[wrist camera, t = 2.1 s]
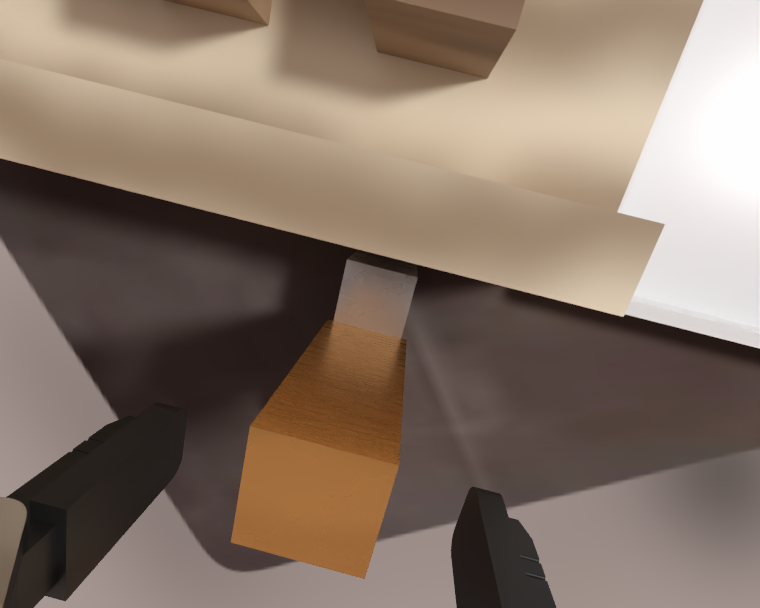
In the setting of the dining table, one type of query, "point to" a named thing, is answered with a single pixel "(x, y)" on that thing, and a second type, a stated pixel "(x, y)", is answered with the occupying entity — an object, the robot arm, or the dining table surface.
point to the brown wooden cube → (234, 8)
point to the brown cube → (445, 31)
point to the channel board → (361, 128)
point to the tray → (705, 183)
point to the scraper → (333, 429)
